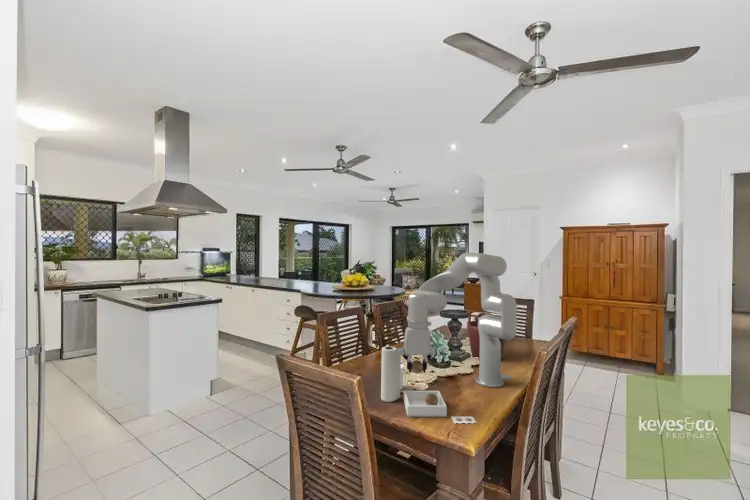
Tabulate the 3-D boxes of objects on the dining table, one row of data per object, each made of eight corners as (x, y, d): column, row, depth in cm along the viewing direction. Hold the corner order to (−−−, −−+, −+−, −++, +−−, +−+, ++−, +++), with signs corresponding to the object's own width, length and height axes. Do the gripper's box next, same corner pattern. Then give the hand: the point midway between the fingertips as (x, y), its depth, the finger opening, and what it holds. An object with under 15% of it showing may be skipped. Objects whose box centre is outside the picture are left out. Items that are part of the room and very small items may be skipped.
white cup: (394, 383, 171) (394, 361, 171) (407, 388, 165) (407, 366, 165) (382, 387, 165) (382, 365, 165) (395, 393, 160) (395, 370, 159)
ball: (436, 403, 148) (436, 391, 148) (439, 409, 143) (439, 396, 143) (424, 403, 148) (424, 391, 148) (426, 409, 143) (426, 396, 143)
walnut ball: (422, 371, 147) (422, 358, 147) (424, 375, 142) (424, 362, 142) (409, 370, 147) (409, 358, 147) (411, 375, 142) (411, 362, 142)
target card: (472, 417, 138) (472, 416, 138) (476, 423, 133) (476, 422, 133) (451, 417, 138) (451, 416, 138) (454, 423, 133) (454, 422, 133)
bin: (438, 400, 153) (439, 390, 153) (446, 417, 138) (446, 406, 138) (403, 400, 153) (403, 390, 152) (407, 416, 138) (407, 406, 138)
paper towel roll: (378, 400, 152) (379, 348, 151) (383, 395, 157) (384, 345, 157) (395, 403, 149) (396, 351, 149) (400, 398, 155) (400, 347, 154)
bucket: (465, 349, 227) (466, 308, 227) (502, 351, 224) (503, 310, 224) (469, 362, 203) (470, 316, 202) (511, 364, 200) (512, 318, 199)
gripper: (437, 323, 149) (436, 368, 149) (395, 322, 148) (394, 367, 149) (441, 327, 141) (440, 374, 141) (396, 326, 141) (395, 374, 141)
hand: (416, 370), depth 145 cm, fingers closed on walnut ball, 4 cm apart
